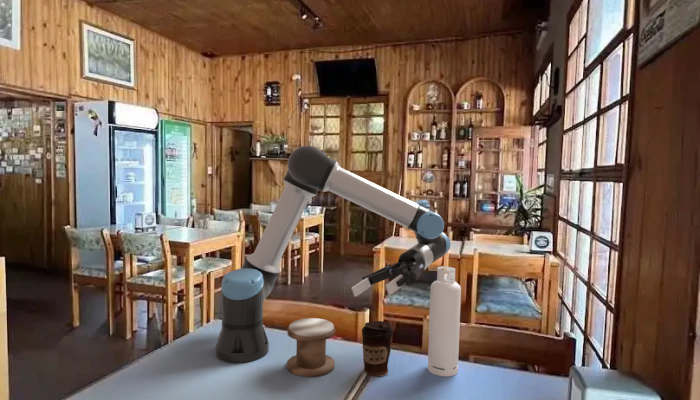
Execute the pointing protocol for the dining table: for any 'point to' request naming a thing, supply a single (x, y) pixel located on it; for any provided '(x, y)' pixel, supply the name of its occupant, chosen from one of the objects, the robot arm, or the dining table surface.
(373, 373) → the coffee cup
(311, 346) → the cup pedestal
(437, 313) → the bottle
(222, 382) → the dining table surface
